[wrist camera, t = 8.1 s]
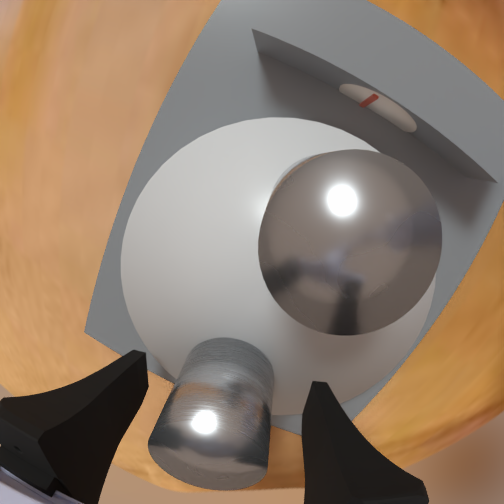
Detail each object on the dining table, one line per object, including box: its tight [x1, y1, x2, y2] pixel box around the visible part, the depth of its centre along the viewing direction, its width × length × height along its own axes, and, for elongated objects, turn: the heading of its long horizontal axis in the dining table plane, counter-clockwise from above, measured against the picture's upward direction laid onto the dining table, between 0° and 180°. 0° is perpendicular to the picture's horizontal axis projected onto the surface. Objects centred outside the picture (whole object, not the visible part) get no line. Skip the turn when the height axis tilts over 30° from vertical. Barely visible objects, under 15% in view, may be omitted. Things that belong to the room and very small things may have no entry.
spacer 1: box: [148, 337, 274, 490], centre depth 11 cm, size 4×4×5 cm
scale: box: [84, 0, 504, 435], centre depth 12 cm, size 15×19×4 cm
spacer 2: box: [258, 149, 442, 336], centre depth 9 cm, size 4×4×5 cm
